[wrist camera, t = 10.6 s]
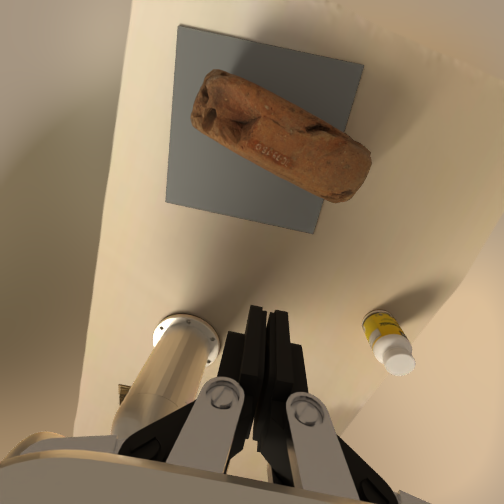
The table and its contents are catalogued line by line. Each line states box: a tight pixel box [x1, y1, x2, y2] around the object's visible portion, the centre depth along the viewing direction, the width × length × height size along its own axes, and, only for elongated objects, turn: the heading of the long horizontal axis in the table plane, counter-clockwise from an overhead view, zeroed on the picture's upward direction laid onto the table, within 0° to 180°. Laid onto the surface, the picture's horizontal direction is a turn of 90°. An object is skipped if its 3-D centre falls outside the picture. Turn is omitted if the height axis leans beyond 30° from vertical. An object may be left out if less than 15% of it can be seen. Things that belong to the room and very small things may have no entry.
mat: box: [165, 26, 364, 234], centre depth 38 cm, size 22×23×1 cm
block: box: [190, 69, 372, 203], centre depth 32 cm, size 11×8×20 cm
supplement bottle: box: [362, 310, 416, 376], centre depth 43 cm, size 5×5×10 cm
